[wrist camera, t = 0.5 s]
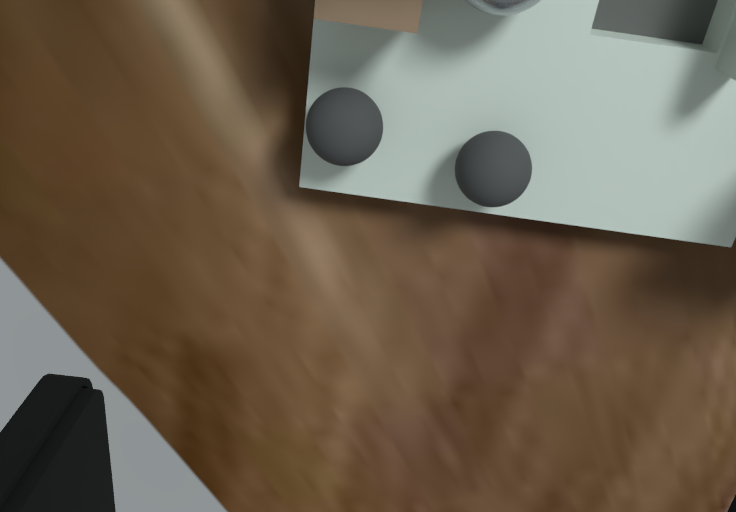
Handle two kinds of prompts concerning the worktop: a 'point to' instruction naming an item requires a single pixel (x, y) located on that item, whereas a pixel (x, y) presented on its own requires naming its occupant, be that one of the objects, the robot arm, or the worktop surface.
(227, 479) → the worktop surface
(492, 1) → the steel ball
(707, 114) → the board
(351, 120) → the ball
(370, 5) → the block
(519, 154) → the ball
